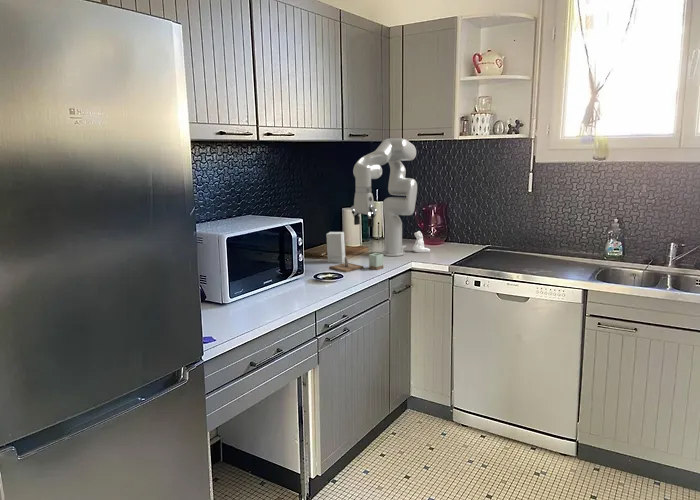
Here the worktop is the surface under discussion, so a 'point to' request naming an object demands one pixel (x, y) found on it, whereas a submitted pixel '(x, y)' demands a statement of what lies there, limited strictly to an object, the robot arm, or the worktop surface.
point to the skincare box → (335, 247)
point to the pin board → (346, 266)
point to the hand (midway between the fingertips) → (363, 225)
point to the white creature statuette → (420, 244)
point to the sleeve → (376, 261)
